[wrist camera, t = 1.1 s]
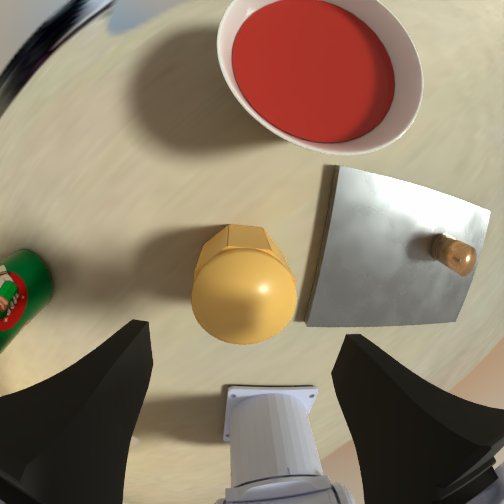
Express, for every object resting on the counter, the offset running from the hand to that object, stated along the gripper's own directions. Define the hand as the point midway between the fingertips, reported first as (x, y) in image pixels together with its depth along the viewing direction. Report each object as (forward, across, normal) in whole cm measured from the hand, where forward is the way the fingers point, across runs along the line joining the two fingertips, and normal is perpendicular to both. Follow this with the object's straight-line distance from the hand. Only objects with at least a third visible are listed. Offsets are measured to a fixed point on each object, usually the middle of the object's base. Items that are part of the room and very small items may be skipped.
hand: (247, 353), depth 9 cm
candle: (+9, -2, -12) cm, 15 cm away
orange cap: (+9, 0, 0) cm, 9 cm away
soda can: (+9, +17, +3) cm, 19 cm away
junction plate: (+9, -13, -1) cm, 16 cm away
